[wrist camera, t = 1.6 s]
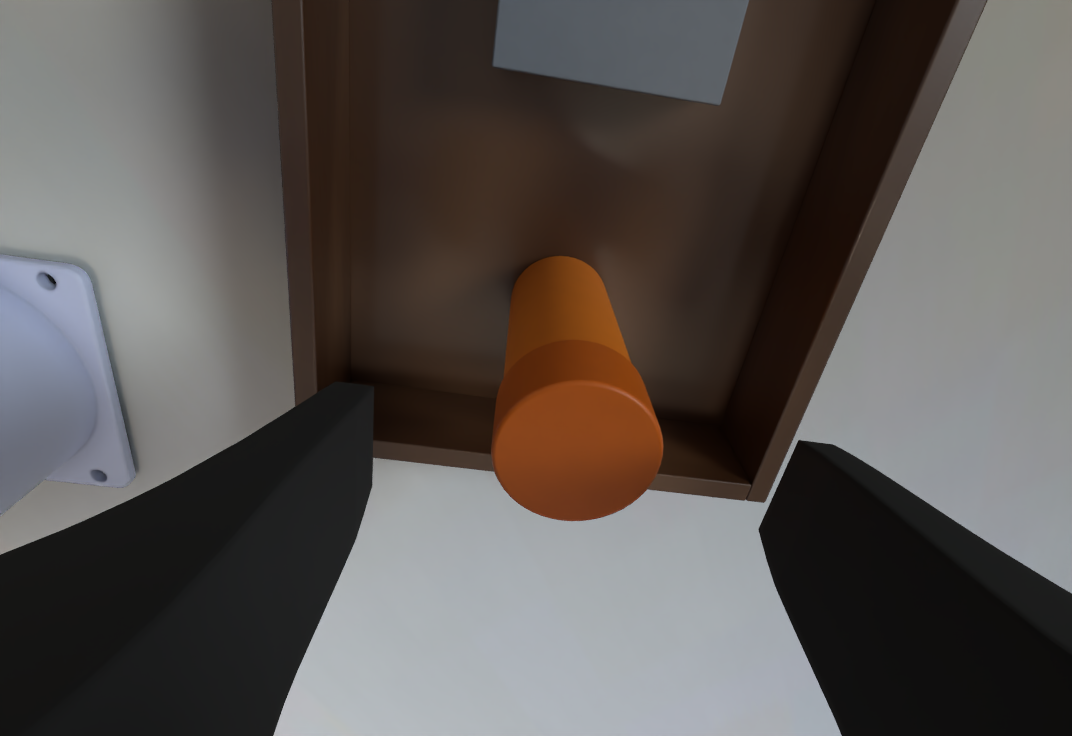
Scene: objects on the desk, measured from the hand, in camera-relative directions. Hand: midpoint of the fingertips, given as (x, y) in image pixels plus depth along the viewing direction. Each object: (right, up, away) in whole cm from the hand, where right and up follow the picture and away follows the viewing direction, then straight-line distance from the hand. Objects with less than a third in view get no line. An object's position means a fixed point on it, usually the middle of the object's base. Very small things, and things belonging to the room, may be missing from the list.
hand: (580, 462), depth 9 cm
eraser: (+1, +10, +4) cm, 10 cm away
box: (0, +7, +6) cm, 9 cm away
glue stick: (0, +4, +7) cm, 8 cm away
